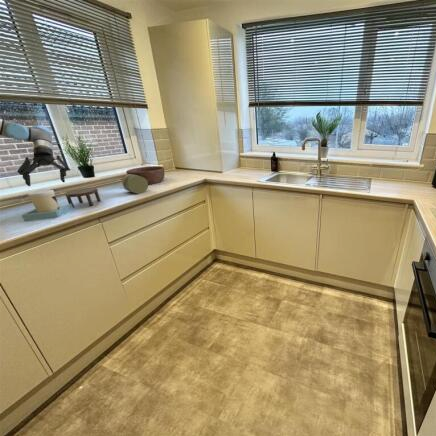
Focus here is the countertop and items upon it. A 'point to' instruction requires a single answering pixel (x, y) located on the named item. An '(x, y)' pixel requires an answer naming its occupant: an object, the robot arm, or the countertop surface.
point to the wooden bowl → (149, 173)
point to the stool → (82, 192)
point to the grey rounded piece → (134, 183)
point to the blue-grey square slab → (46, 213)
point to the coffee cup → (44, 200)
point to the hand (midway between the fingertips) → (45, 182)
